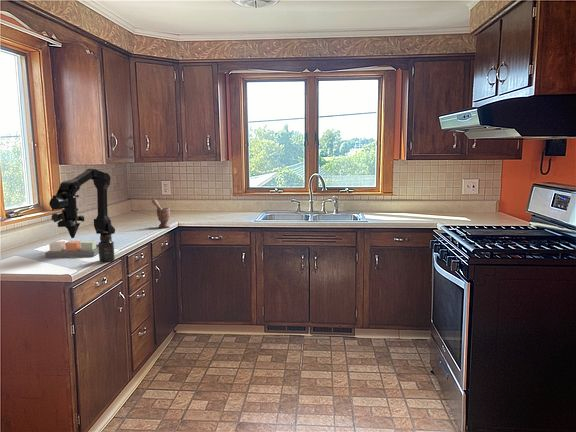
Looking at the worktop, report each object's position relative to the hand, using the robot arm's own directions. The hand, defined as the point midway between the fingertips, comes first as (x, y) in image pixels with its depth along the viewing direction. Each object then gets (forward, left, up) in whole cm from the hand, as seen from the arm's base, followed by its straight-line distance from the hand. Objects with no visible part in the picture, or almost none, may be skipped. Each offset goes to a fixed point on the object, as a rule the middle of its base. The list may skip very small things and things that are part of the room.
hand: (72, 238), depth 221 cm
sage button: (0, +8, -6) cm, 10 cm away
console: (0, 0, -9) cm, 9 cm away
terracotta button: (0, 0, -6) cm, 6 cm away
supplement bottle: (+14, +20, -9) cm, 26 cm away
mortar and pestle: (-75, +29, -9) cm, 81 cm away
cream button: (0, -8, -6) cm, 10 cm away
